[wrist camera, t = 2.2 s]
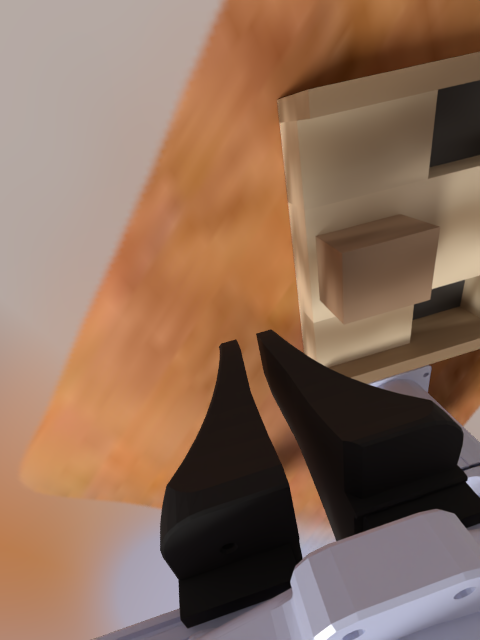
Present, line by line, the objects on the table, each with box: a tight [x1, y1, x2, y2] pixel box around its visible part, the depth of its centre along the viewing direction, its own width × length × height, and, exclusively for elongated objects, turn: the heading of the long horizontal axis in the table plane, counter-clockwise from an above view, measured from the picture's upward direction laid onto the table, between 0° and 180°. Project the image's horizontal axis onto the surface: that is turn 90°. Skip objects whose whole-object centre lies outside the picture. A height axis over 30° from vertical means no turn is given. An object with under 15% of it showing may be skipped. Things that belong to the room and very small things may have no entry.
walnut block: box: [315, 214, 440, 325], centre depth 17 cm, size 4×5×3 cm
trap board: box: [277, 52, 480, 384], centre depth 20 cm, size 17×20×4 cm
